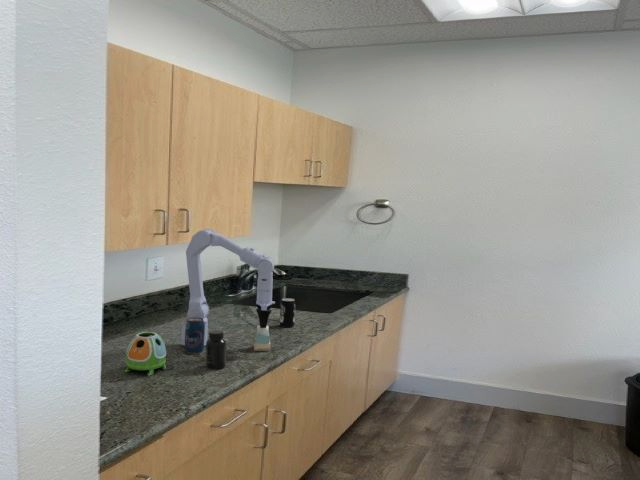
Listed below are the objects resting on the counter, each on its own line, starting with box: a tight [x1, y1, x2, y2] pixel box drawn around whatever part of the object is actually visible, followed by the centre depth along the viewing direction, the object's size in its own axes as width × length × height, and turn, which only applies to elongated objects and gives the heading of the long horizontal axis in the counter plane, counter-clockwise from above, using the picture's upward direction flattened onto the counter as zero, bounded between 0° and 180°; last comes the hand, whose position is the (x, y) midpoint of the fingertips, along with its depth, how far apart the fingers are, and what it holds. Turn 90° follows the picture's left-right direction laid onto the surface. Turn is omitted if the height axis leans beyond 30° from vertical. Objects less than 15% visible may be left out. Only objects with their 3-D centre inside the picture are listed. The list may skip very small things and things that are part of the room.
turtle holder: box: [125, 331, 167, 377], centre depth 195 cm, size 12×18×12 cm
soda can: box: [184, 318, 205, 355], centre depth 217 cm, size 7×7×12 cm
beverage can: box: [279, 297, 296, 328], centre depth 264 cm, size 7×7×12 cm
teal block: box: [255, 331, 270, 344], centre depth 225 cm, size 5×5×3 cm
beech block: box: [253, 338, 271, 352], centre depth 226 cm, size 6×6×3 cm
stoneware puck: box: [256, 324, 270, 335], centre depth 225 cm, size 4×4×3 cm
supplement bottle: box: [205, 329, 227, 370], centre depth 200 cm, size 7×7×12 cm
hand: (263, 325), depth 225 cm, fingers open, 7 cm apart
